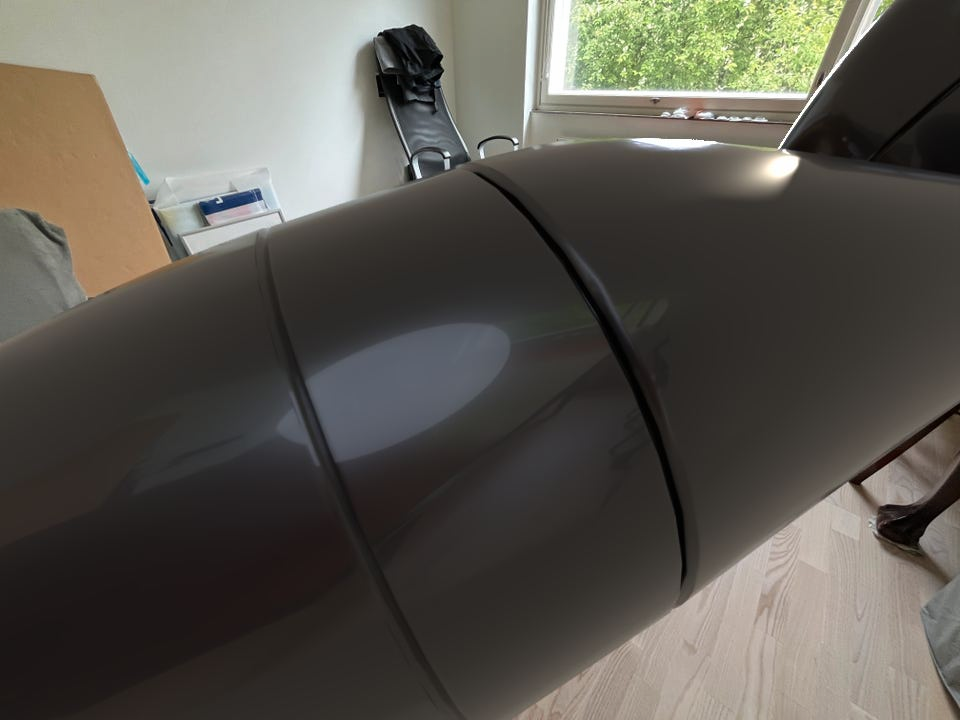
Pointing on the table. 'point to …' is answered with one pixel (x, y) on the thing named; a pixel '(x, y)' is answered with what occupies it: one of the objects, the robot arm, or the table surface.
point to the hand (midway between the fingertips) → (336, 455)
